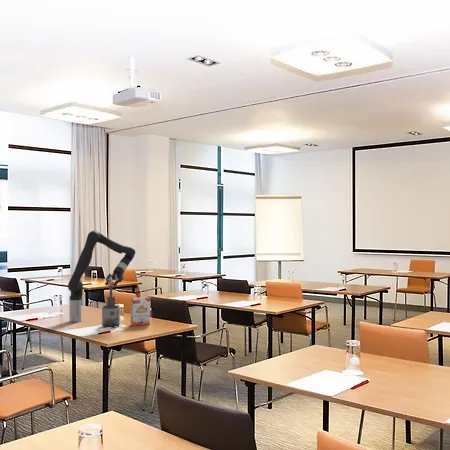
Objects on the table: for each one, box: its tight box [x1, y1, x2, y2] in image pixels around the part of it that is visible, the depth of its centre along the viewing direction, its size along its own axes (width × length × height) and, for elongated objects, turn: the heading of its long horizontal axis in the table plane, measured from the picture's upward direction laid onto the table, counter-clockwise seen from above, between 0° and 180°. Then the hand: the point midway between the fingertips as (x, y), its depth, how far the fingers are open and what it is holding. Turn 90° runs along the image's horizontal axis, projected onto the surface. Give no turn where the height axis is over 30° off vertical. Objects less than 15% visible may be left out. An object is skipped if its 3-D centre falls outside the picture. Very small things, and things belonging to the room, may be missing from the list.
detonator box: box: [101, 295, 121, 328], centre depth 400 cm, size 18×13×22 cm
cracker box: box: [130, 296, 151, 327], centre depth 406 cm, size 14×6×21 cm, turn 117°
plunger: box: [107, 280, 115, 297], centre depth 402 cm, size 4×4×12 cm
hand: (110, 285), depth 401 cm, fingers open, 8 cm apart
